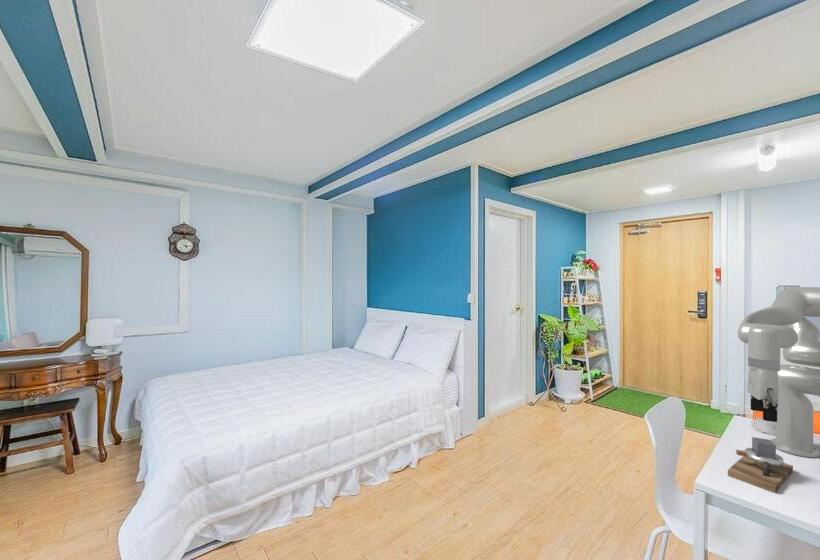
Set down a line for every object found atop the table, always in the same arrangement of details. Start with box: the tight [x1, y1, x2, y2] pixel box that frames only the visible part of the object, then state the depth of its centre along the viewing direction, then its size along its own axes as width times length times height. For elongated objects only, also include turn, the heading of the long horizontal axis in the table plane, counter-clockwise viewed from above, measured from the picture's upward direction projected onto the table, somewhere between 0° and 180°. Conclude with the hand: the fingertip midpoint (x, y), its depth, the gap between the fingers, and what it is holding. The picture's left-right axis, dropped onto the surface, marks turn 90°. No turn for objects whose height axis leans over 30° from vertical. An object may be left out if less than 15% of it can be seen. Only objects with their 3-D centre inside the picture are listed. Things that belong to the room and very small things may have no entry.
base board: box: [727, 456, 794, 494], centre depth 115 cm, size 21×11×6 cm, turn 122°
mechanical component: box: [751, 417, 776, 436], centre depth 147 cm, size 10×4×10 cm
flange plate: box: [735, 436, 785, 467], centre depth 116 cm, size 11×9×6 cm
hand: (763, 415), depth 115 cm, fingers open, 9 cm apart
